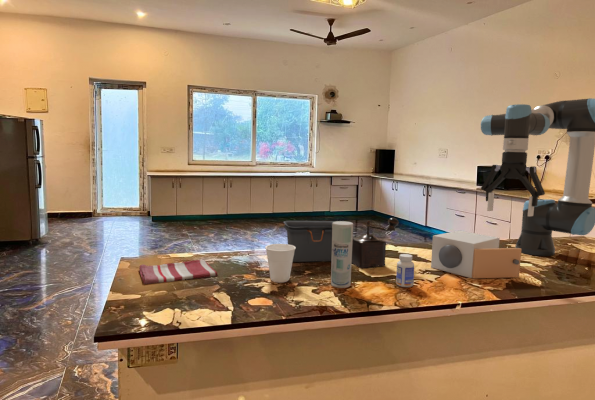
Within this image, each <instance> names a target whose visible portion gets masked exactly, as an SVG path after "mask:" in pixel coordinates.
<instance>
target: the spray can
mask: <svg viewBox="0 0 595 400" xmlns="http://www.w3.org/2000/svg"><path fill="white" fill-rule="evenodd" d="M353 238H354V223H353V222H351V221H344V220H342V221H341V220H339V221H338V220H337V221H333V223H332V261H331V269H330V272H331V273H330V279H331V280H330V285H331V286H332V287H334V288H339V289H345V288H349V287H350V286H351V285H352V284H351V282H352V280H351V278H352V264H353V263H352V241H353Z"/></svg>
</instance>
